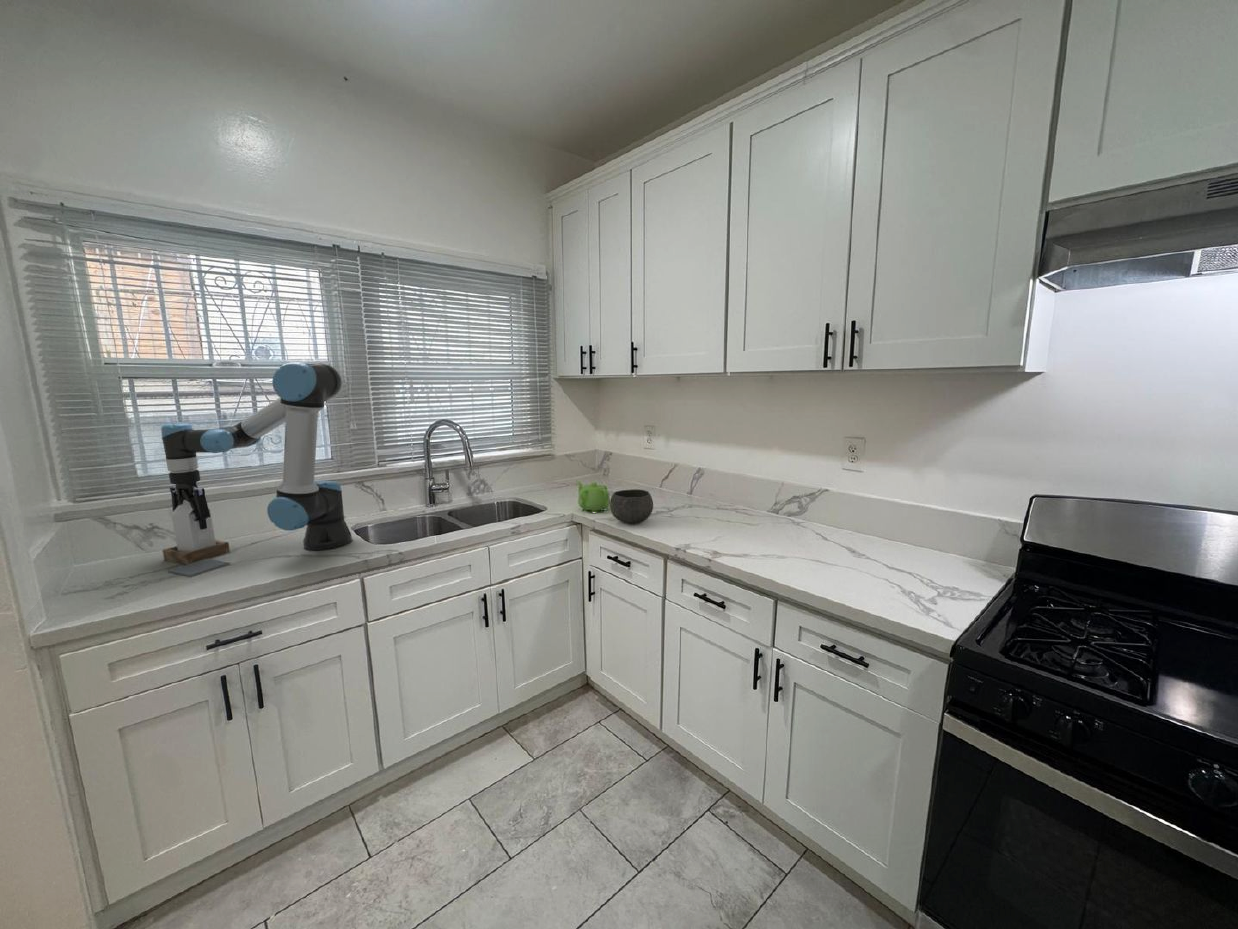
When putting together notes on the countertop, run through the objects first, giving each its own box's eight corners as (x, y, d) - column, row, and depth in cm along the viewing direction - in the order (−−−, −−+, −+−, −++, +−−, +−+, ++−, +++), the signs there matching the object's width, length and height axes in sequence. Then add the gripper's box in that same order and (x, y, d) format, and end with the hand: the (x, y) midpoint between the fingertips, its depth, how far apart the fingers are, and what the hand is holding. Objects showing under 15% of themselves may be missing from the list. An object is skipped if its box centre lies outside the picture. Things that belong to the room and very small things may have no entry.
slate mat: (229, 564, 157) (229, 562, 157) (190, 577, 147) (190, 575, 147) (207, 560, 161) (207, 558, 161) (167, 572, 151) (167, 570, 151)
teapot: (572, 514, 214) (572, 486, 212) (576, 505, 228) (576, 479, 226) (609, 514, 213) (609, 486, 211) (611, 505, 227) (610, 479, 225)
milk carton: (195, 559, 161) (186, 503, 157) (178, 557, 162) (168, 502, 159) (217, 551, 168) (208, 498, 164) (200, 550, 169) (191, 497, 166)
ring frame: (229, 551, 169) (228, 542, 168) (188, 564, 157) (186, 554, 157) (206, 547, 173) (204, 538, 172) (164, 560, 161) (162, 550, 161)
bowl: (628, 531, 189) (628, 500, 187) (601, 521, 203) (600, 491, 201) (662, 523, 200) (662, 493, 198) (633, 513, 214) (633, 485, 212)
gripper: (217, 470, 160) (227, 536, 164) (177, 467, 167) (188, 531, 171) (190, 474, 153) (202, 543, 157) (150, 471, 160) (162, 537, 164)
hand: (195, 537), depth 164 cm, fingers closed on milk carton, 8 cm apart
